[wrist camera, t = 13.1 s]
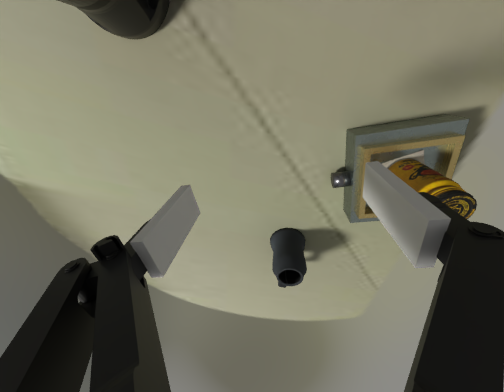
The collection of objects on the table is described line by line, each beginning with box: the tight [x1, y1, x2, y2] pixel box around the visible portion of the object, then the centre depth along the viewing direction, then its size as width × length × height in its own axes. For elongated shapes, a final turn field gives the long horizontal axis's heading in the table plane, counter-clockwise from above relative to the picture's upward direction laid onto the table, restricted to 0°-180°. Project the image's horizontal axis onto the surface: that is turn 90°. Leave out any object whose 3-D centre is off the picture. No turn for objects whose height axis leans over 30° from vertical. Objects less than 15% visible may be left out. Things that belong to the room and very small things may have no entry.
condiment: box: [382, 150, 477, 219], centre depth 31 cm, size 7×8×12 cm
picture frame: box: [331, 114, 469, 223], centre depth 38 cm, size 18×19×6 cm
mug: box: [270, 228, 307, 288], centre depth 48 cm, size 12×9×11 cm
